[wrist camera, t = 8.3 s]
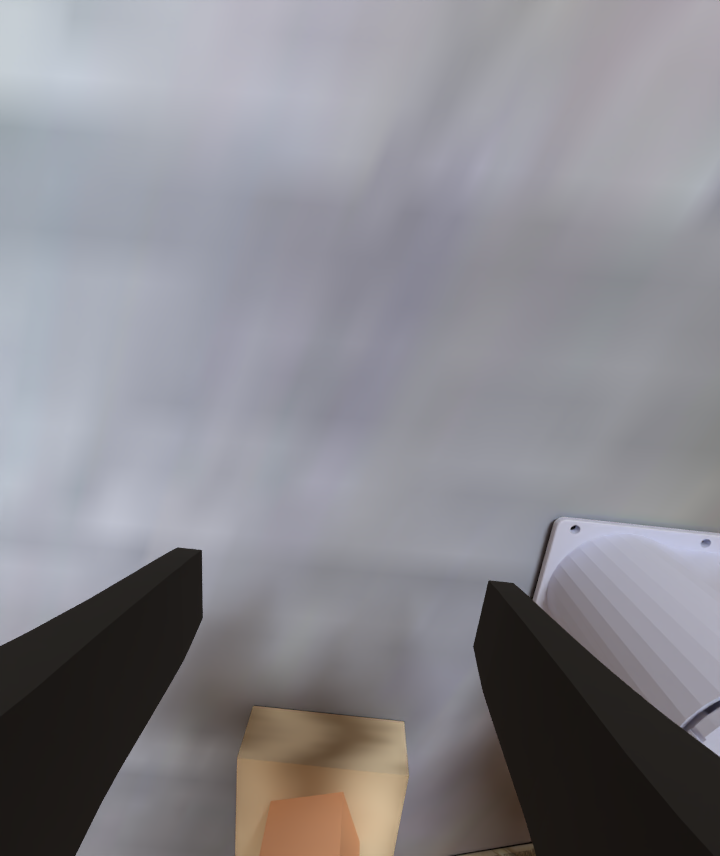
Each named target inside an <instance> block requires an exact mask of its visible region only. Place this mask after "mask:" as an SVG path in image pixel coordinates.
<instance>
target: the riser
mask: <svg viewBox="0 0 720 856" xmlns="http://www.w3.org/2000/svg"><path fill="white" fill-rule="evenodd" d="M408 778H409V771H408V760H407V749H406V738H405V726H404V721H394V720H384V719H375V718H365V717H356V716H346V715H336V714H327V713H317V712H308V711H298V710H289V709H279V708H269V707H260V706H253V708H252V712H251V715H250V718H249V721H248V725H247V728H246V731H245V734H244V738H243V741H242V744H241V747H240V750H239V754H238V757H237V793H236V843H235V856H259V854H260V850H261V845H262V840H263V835H264V831H265V826H266V821H267V816H268V811H269V807H270V802H271V801H275V800H283V799H291V798H298V797H306V796H314V795H322V794H330V793H338V792H343V793H344V796H345V799H346V802H347V805H348V808H349V811H350V814H351V817H352V820H353V823H354V826H355V829H356V832H357V835H358V838H359V841H360V856H393V854H394V849H395V844H396V839H397V834H398V829H399V823H400V818H401V813H402V808H403V803H404V798H405V793H406V788H407V783H408Z"/></svg>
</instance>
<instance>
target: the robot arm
mask: <svg viewBox="0 0 720 856" xmlns="http://www.w3.org/2000/svg"><path fill="white" fill-rule="evenodd" d="M574 525H576V527H575V529H573V530H570V529H571V527H572V526H574ZM702 541H703V542H702ZM202 618H203V608H202V550H196V549H186V548H176V549H174V550H172V551H170V552H168V553H166V554H165V555H163V556H161V557H160V558H158V559H156V560H154V561H153V562H151V563H149V564H148V565H146V566H144V567H143V568H141V569H139V570H138V571H136V572H134V573H133V574H131V575H129V576H128V577H126V578H124V579H122V580H121V581H119V582H117V583H116V584H114V585H112V586H110V587H109V588H107V589H105V590H104V591H102V592H100V593H99V594H97V595H95V596H93V597H92V598H90V599H88V600H86V601H85V602H83V603H81V604H79V605H77V606H75V607H74V608H72V609H70V610H68V611H66V612H64V613H62V614H61V615H59V616H57V617H55V618H53V619H51V620H50V621H48V622H46V623H44V624H42V625H40V626H39V627H37V628H35V629H33V630H31V631H29V632H27V633H25V634H23V635H22V636H20V637H18V638H16V639H14V640H12V641H10V642H8V643H6V644H4V645H2V646H0V856H75V855H76V853H77V851H78V849H79V847H80V845H81V843H82V841H83V839H84V837H85V835H86V833H87V831H88V829H89V827H90V825H91V823H92V821H93V819H94V817H95V815H96V813H97V811H98V809H99V807H100V805H101V803H102V801H103V799H104V797H105V795H106V794H107V792H108V790H109V788H110V786H111V785H112V783H113V781H114V779H115V777H116V775H117V774H118V772H119V770H120V768H121V767H122V765H123V763H124V762H125V760H126V758H127V757H128V755H129V753H130V752H131V750H132V748H133V746H134V745H135V743H136V741H137V740H138V738H139V736H140V735H141V733H142V731H143V729H144V728H145V726H146V724H147V723H148V721H149V719H150V718H151V716H152V714H153V712H154V711H155V709H156V707H157V706H158V704H159V702H160V701H161V699H162V697H163V695H164V694H165V692H166V690H167V689H168V687H169V685H170V683H171V682H172V680H173V678H174V676H175V675H176V673H177V671H178V670H179V668H180V666H181V664H182V662H183V661H184V659H185V656H186V654H187V652H188V650H189V648H190V646H191V643H192V641H193V639H194V637H195V634H196V632H197V630H198V627H199V625H200V623H201V621H202ZM473 647H474V652H475V657H476V662H477V667H478V672H479V676H480V680H481V685H482V689H483V693H484V696H485V699H486V703H487V706H488V709H489V712H490V715H491V718H492V721H493V724H494V727H495V730H496V733H497V736H498V739H499V742H500V745H501V748H502V751H503V754H504V757H505V760H506V763H507V766H508V769H509V772H510V775H511V778H512V781H513V784H514V787H515V790H516V793H517V796H518V799H519V802H520V805H521V808H522V811H523V813H524V817H525V820H526V823H527V827H528V830H529V833H530V836H531V840H532V843H533V846H534V850H535V854H536V856H720V533H711V532H702V531H693V530H683V529H674V528H664V527H655V526H646V525H636V524H627V523H617V522H608V521H599V520H589V519H580V518H571V517H560V518H558V519H557V520H556V521H555V522H554V524H553V528H552V531H551V535H550V539H549V542H548V546H547V549H546V553H545V557H544V560H543V564H542V568H541V571H540V575H539V579H538V582H537V586H536V590H535V593H534V597H533V600H532V599H531V598H530V597H529V596H527V595H526V594H525V593H524V592H523V591H522V590H521V589H520V588H518V587H517V586H516V585H515V584H514V583H508V582H498V581H488V585H487V590H486V594H485V598H484V603H483V607H482V611H481V616H480V620H479V624H478V629H477V633H476V637H475V641H474V646H473Z"/></svg>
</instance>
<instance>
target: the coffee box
mask: <svg viewBox="0 0 720 856" xmlns="http://www.w3.org/2000/svg"><path fill="white" fill-rule="evenodd" d="M458 856H536V854H535V850H534V846H533V843H531V844H524V845H518V846H512V847H506V848H500V849H494V850H487V851H481V852H475V853H469V854H463V855H458Z"/></svg>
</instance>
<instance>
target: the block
mask: <svg viewBox="0 0 720 856" xmlns="http://www.w3.org/2000/svg"><path fill="white" fill-rule="evenodd" d="M259 856H360V841H359V838H358V835H357V832H356V829H355V826H354V823H353V820H352V817H351V814H350V811H349V808H348V805H347V802H346V799H345V796H344V793H343V792H338V793H330V794H322V795H314V796H306V797H298V798H291V799H283V800H275V801H271V802H270V807H269V811H268V816H267V821H266V826H265V831H264V835H263V840H262V845H261V850H260V854H259Z"/></svg>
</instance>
